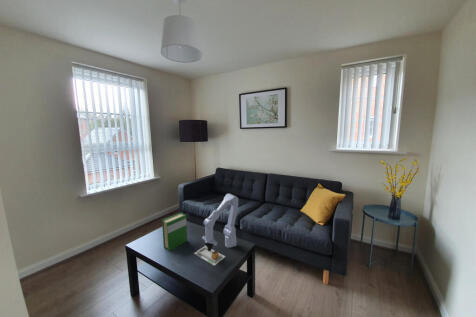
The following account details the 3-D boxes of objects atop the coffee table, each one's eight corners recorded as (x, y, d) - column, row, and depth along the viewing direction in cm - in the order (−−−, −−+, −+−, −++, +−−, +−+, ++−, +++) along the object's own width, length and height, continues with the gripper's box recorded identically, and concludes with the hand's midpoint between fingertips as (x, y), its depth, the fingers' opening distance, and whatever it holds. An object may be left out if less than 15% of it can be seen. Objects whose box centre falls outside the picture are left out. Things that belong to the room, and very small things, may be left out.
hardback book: (168, 251, 151) (167, 222, 148) (163, 247, 156) (162, 220, 152) (187, 240, 165) (186, 214, 161) (182, 237, 170) (180, 212, 166)
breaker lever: (215, 255, 143) (215, 249, 143) (218, 257, 142) (218, 251, 141) (211, 258, 140) (211, 252, 139) (214, 260, 138) (214, 253, 138)
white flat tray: (205, 247, 156) (205, 244, 156) (225, 258, 143) (225, 255, 143) (193, 255, 147) (193, 252, 146) (214, 267, 134) (214, 264, 133)
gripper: (198, 233, 144) (199, 249, 146) (212, 240, 135) (212, 257, 137) (205, 229, 149) (206, 245, 151) (219, 235, 141) (219, 252, 143)
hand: (209, 250), depth 145 cm, fingers closed
